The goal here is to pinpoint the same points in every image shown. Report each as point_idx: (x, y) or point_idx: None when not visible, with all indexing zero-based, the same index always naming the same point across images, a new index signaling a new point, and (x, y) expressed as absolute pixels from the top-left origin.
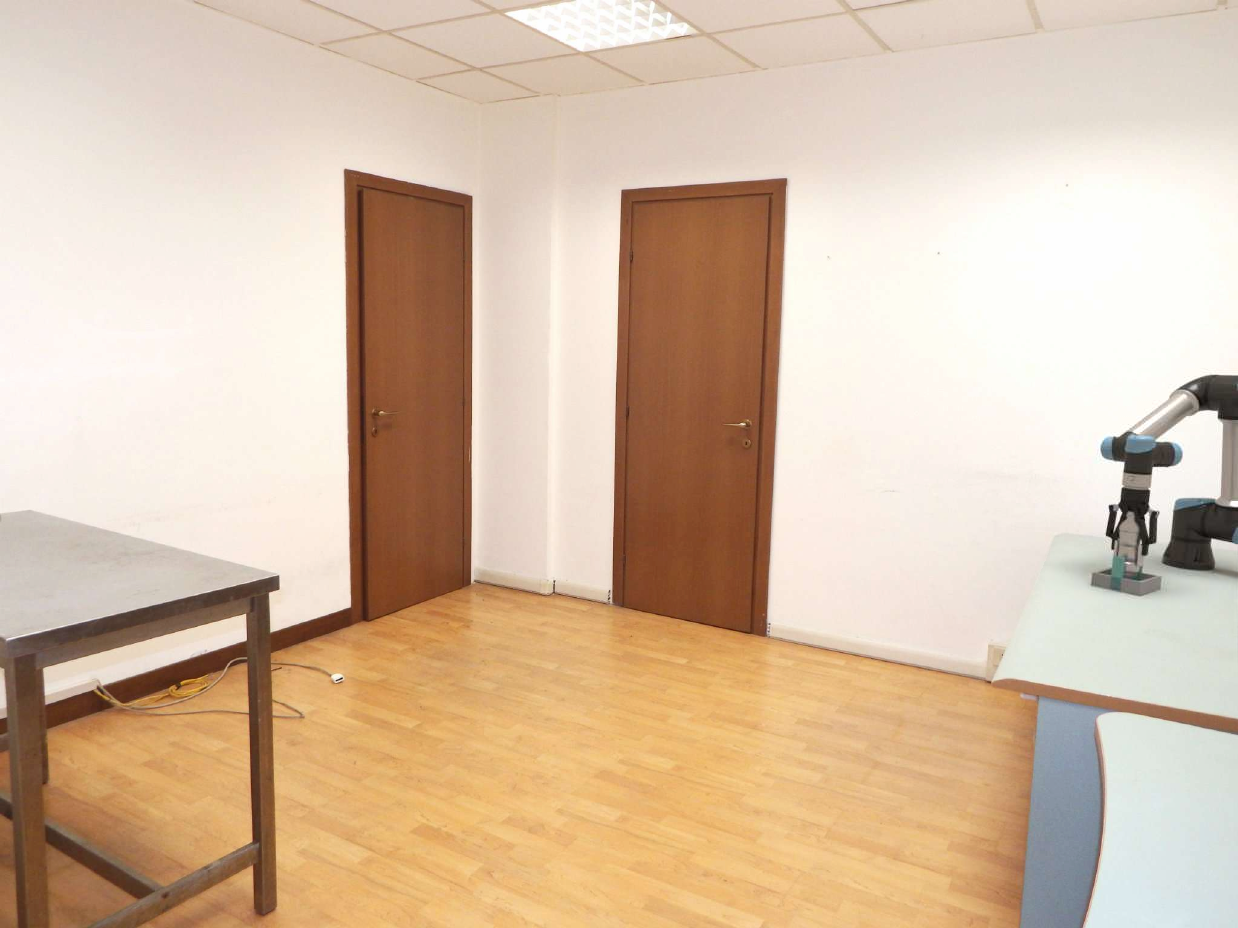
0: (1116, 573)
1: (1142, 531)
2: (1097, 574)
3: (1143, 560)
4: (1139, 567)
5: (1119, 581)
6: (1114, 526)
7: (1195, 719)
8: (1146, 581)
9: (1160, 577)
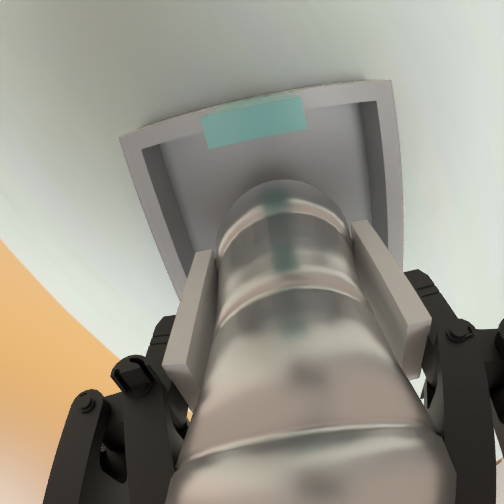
0: None
1: None
2: None
3: (378, 241)
4: (349, 231)
5: None
6: (86, 481)
7: None
8: (401, 259)
9: (392, 96)
